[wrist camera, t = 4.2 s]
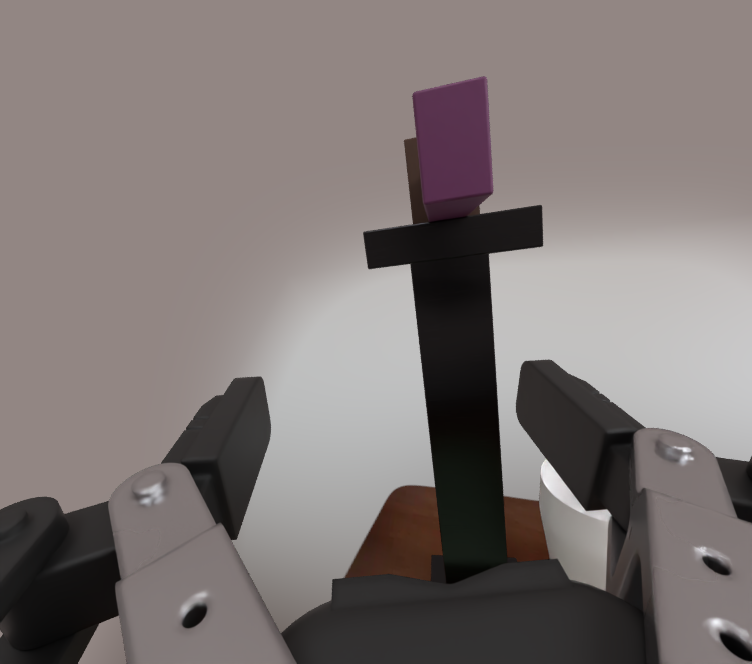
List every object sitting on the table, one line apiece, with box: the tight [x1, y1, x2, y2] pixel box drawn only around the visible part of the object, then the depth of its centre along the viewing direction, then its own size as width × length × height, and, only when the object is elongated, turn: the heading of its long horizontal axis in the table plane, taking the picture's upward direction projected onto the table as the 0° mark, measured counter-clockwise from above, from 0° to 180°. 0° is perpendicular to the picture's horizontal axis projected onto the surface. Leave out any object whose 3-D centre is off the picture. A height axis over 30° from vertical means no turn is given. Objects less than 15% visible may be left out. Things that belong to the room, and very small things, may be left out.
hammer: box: [404, 76, 493, 224], centre depth 17 cm, size 4×16×5 cm, turn 170°
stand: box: [363, 205, 543, 584], centre depth 26 cm, size 9×10×32 cm
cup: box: [539, 459, 611, 591], centre depth 27 cm, size 9×9×12 cm
